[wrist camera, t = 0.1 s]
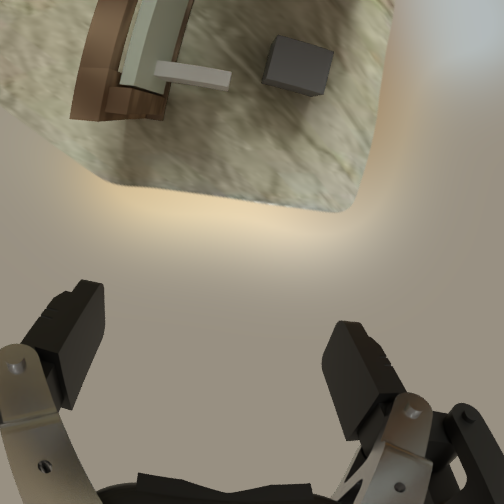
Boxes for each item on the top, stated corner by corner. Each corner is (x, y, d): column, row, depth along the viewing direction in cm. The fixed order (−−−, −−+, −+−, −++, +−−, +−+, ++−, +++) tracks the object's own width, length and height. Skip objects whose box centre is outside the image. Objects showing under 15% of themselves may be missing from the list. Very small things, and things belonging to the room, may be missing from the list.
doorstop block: (271, 44, 31) (277, 34, 27) (320, 58, 32) (334, 51, 28) (261, 83, 33) (266, 78, 29) (311, 96, 34) (323, 94, 30)
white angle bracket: (188, -28, 26) (174, -78, 15) (257, -18, 27) (271, -66, 16) (153, 93, 32) (119, 84, 21) (224, 105, 33) (223, 98, 22)
